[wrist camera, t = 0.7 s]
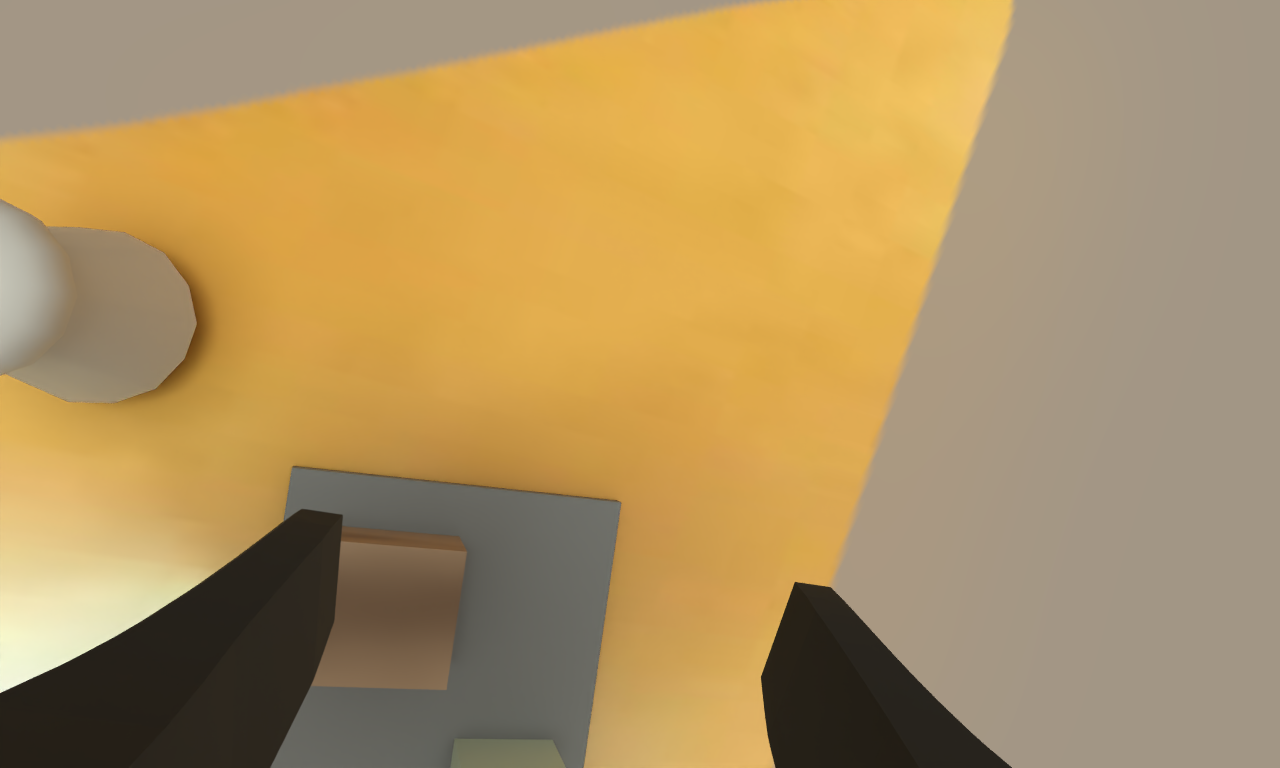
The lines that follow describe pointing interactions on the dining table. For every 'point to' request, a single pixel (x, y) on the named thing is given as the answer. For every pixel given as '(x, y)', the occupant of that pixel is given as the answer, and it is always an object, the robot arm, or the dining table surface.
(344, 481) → the slate mat
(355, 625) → the walnut block
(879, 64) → the dining table surface
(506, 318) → the dining table surface
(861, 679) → the robot arm
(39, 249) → the salt shaker
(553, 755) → the sage block
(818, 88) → the dining table surface
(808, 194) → the dining table surface
